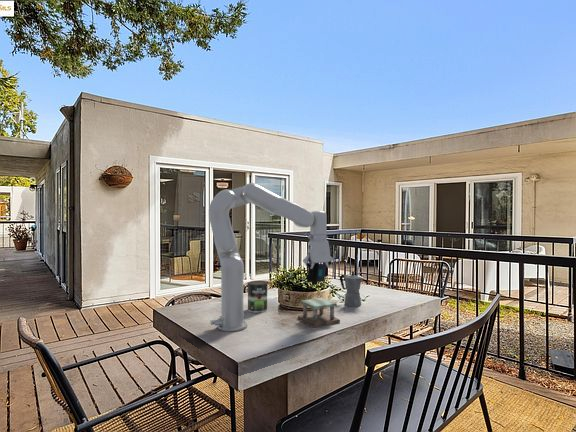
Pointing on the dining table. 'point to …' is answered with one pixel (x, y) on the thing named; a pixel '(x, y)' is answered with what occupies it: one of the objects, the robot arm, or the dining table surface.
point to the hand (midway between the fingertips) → (318, 276)
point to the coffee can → (257, 296)
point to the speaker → (317, 273)
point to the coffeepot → (352, 289)
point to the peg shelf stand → (321, 317)
